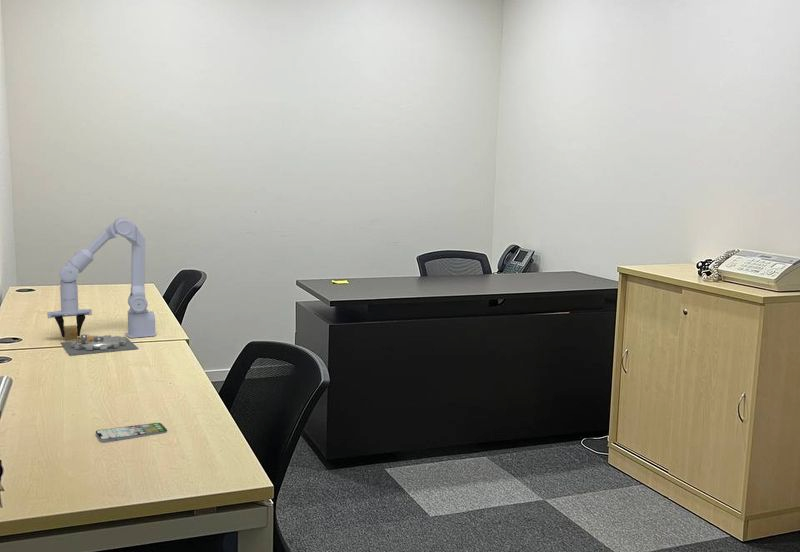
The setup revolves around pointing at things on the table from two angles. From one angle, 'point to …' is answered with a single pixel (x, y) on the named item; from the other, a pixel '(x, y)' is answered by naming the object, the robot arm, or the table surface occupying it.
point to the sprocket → (98, 342)
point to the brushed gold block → (70, 333)
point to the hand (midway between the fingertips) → (70, 336)
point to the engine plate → (73, 351)
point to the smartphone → (130, 432)
